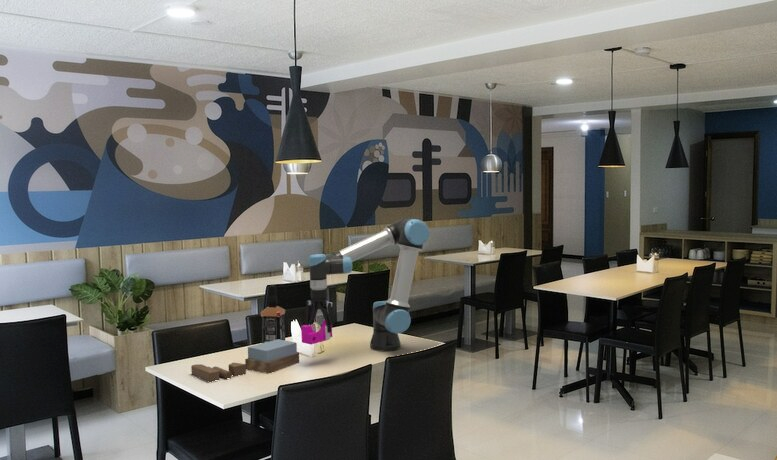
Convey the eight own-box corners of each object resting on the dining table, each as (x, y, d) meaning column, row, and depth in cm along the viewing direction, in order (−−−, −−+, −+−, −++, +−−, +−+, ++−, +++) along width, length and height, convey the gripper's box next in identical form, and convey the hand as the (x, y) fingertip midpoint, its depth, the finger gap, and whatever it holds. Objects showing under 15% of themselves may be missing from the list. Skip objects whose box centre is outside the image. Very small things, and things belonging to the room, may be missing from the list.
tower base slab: (299, 363, 293) (299, 352, 293) (269, 374, 276) (269, 363, 275) (275, 359, 300) (275, 349, 300) (245, 370, 283) (245, 359, 283)
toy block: (310, 344, 284) (310, 327, 283) (301, 342, 288) (301, 325, 287) (336, 337, 295) (335, 321, 294) (326, 335, 299) (326, 319, 298)
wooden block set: (210, 370, 263) (190, 362, 276) (210, 384, 263) (190, 375, 277) (246, 362, 274) (226, 355, 288) (247, 375, 275) (226, 367, 288)
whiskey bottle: (287, 348, 319) (285, 284, 317) (280, 353, 310) (278, 287, 308) (267, 347, 321) (265, 284, 319) (260, 352, 311) (258, 287, 309)
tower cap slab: (296, 353, 291) (296, 342, 291) (266, 362, 277) (266, 350, 276) (278, 349, 298) (278, 339, 298) (248, 358, 284) (247, 347, 284)
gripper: (295, 288, 292) (298, 338, 294) (332, 291, 282) (334, 342, 284) (305, 286, 299) (307, 335, 300) (341, 288, 289) (344, 338, 291)
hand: (320, 338), depth 292 cm, fingers closed on toy block, 7 cm apart
